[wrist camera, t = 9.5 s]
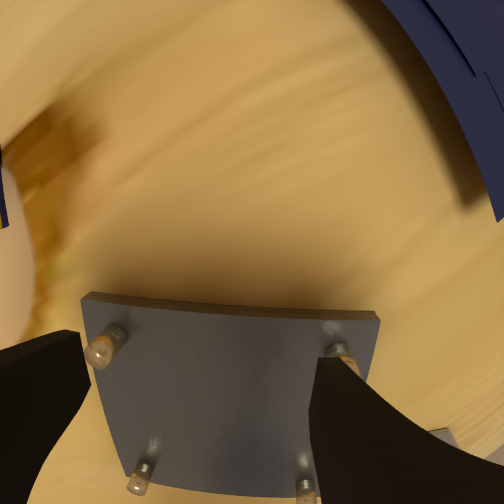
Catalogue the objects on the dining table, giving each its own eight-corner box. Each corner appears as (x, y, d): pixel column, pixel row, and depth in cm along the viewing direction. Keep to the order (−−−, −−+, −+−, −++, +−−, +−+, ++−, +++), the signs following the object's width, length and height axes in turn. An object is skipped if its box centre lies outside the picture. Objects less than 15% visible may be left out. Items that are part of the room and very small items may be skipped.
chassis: (324, 485, 20) (329, 519, 16) (130, 466, 20) (117, 496, 17) (373, 311, 16) (396, 342, 13) (90, 291, 17) (57, 315, 13)
